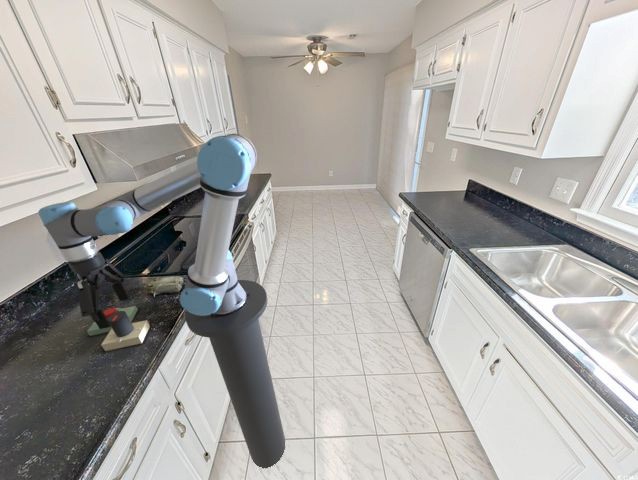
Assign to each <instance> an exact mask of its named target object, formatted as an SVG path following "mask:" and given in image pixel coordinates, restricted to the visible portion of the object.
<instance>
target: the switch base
mask: <svg viewBox="0 0 638 480" xmlns="http://www.w3.org/2000/svg"><path fill="white" fill-rule="evenodd" d="M115 308H116V310H117V312H119V311H125V312H126V314H127V316H128V317H129V319H130V321H131V322H133V319H134V318H135V316H136V315H137V313H138V311H139V309H138V308H137V306H136V305H134V306H129V307H123V308H121V307H115ZM111 329H112V327H111V326H110V327H108V328H103V329H99V327H98V325H97V324H96V323H95V322H94V321H93V323H92V324H91V326H90V327H89V328H88V330H86V332H87V334H88V335H89V337H91V336H96V335H102V334H106V333H107V334H108V333H109V332H110V331H111Z"/></svg>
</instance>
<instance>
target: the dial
mask: <svg viewBox="0 0 638 480" xmlns="http://www.w3.org/2000/svg"><path fill="white" fill-rule="evenodd" d="M108 321H109V323H110V324H111V327H112V329H113V331H114V333H115V334H116V336H117V337H124V336H127V335H128V334H130V333H131V332H132V331H133V329H134V327H133V325H132V323H133V322H132V321H130V319H129V317H128V316H127V314H126V312H125V311H119V312H116V313H114V314H112V315H111V316H109V318H108Z"/></svg>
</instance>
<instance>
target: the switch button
mask: <svg viewBox="0 0 638 480" xmlns="http://www.w3.org/2000/svg"><path fill="white" fill-rule="evenodd" d="M116 308H117V307H110V308H107V309H105V310H103V313H104V314H105V316H106V318H107V319H108V318H109V316H111V315H112V314H114V313H116V312H117V310H116Z"/></svg>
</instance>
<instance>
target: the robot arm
mask: <svg viewBox="0 0 638 480" xmlns="http://www.w3.org/2000/svg"><path fill="white" fill-rule="evenodd" d="M257 154H258V153H257V150H256V147H255V145H254V144H253V143H252V141H251V140H250V139H249V138H248V137H245V136H244V135H241V134H240V133H228V134H225V135H218V136H214V137H212V138H210V139H208V141H206V142H205V143H204V144H203V145H202V146H201V147H200V149H199V151H198V154H197V157H196V158H195V159H194V160H192V161H191V162H188V163H186V164H184V165H181V166H180V167H178V168H176V169H174V170H172V171H170V172H168V173H166V174H164V175H162V176H160V177H158V178H157V179H154V180H152V181H150V182H148V183H146V184H145V185H142V186H140V187H138V188H136V189H134V190H132V191H130V192H127V193H126V194H124V195H122V196H119V197H118V198H115V199H114V200H111V201H109V202H107V203H105V204H103V205H100V206H98V207H94V208H87V209H86V208H85V209H79V208H78V207H77V205H76V203H74V202H70V201H63V202H58V203H52V204H49V205H46V206H43V207H41V208H40V209H38V212H37V213H38V216H39V219H40V220H41V222H42V224H43V226H44V227H45V229H46V230H47V232H48V233H49V235H50V236H51V238H52V240H53V241H54V243H55V245H56V247H57V248H58V250H59V251H60V253H61V255H62V257H63V259H64V260H65V261H67V264H68V266H69V268H70V269H71V271H72V273H74V274H76V275H79V276H80V279H81V280H79V281H75V282H74V283H73V286H74V288H75V290H76V292H77V298H78V304H79V308H80V314H81V317H84V318H85V317H89V316H90V317H91V319H92V321H93V323H94V322H95V323H96V324H97V325H98V327H99V329H103V328H108V327H110V326H111V324H110V323H109V321H108V319H107V318H106V316H105V314H104V313H103V312H104V310H103V309H102V308H100V303H99V301H100V299H99V298H100V297H99V290H100V288H101V284H102V283H103V281H106V282H107V283H108V282H109V283H110V284H112V285H111V287H112V289H113V290H114V293H115V294H116V296H117V298H118V300H119V301H120V302H122V301H127V300H130V296H129V294H128V292H127V290H126V289H125V286H124V284H123V283H124V282H125V281H126V279H125V278H124V276H125V275H124V273H122V272H121V271H120V270H118V268H117V267H115V266H114V265H113V264H112V263H111V262H110V260H109V259H108V258H107V259H105V258H104V256H103V253H102V252H101V251H100V250H99V247H98V246H97V245H98V244H97V243H96V241H95V240H94V237H100V236H113V235H114V236H117V235H119V234H126V233H128V232H130V230H132V226H133V224H134V221H136V220H137V219H138V218H140V217H142V216H143V215H146V214H148V213H150V212H152V211H154V210H156V209H158V208H160V207H162V206H164V205H167V204H169V203H171V202H173V201H175V200H177V199H179V198H181V197H183V196H186V195H187V194H189V193H191V192H194V191H196V190H198V189H200V188H201V189H202V190H203V191H204V196H203V197H204V199H203V205H202V211H201V217H200V225H199V232H198V239H197V245H196V253H195V259H194V263H193V264H191V265H190V266H189V268H188V270H187V276H186V283H185V287H184V289H183V290H182V291H181V292H180V294H179V295H180V296H179V304H180V306H181V307H182V309H184V310H185V311H186V310H187V311H188V312H190V313H192V314H195V315H200V316H206V315H210V314H211V315H214V316H226V315H230V314H233V313H235V312H237V311H238V310H240V309H241V308H242V307H243V306H244V305H245V304H246V301H247V296H246V294H250V292H245V291H244V289H243V288H242V287H241V285H240V284H239V283H238V280H239V279H238V275H237V271H236V266H235V263H234V259H233V258H234V257H233V256H232V255H233V254H232V252H231V250H229V249H230V245H231V240H232V235H233V229H234V226H235V225H234V224H235V220H236V216H237V210H238V205H239V202H240V201H239V200H240V199H242V198H244V197H245V196H246V195H247V191H248V186H249V181H250V178H251V174H252V171H253V170H254V169H255V167H256V164H257V160H258V155H257Z"/></svg>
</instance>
